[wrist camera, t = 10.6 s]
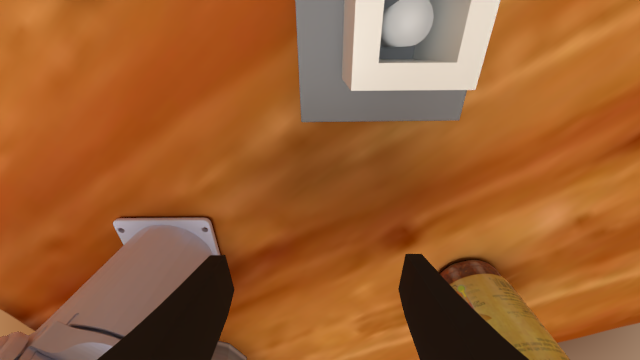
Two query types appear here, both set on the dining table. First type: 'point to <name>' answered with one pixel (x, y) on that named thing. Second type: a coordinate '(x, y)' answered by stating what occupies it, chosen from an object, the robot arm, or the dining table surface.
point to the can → (227, 352)
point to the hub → (418, 47)
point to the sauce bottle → (502, 309)
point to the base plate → (396, 43)
